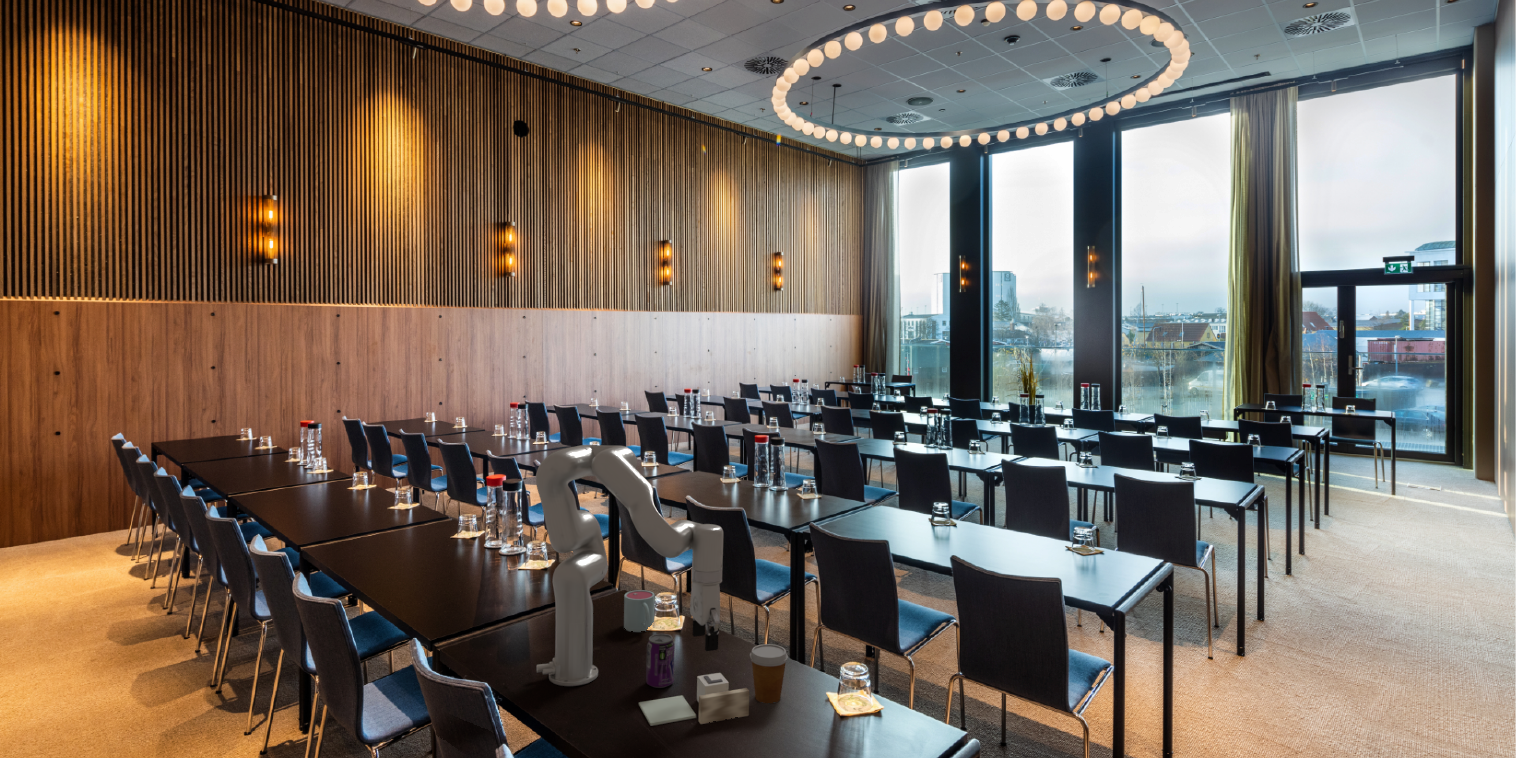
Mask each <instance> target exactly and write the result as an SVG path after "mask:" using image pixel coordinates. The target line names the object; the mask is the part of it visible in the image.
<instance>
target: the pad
mask: <svg viewBox="0 0 1516 758" xmlns="http://www.w3.org/2000/svg"><path fill="white" fill-rule="evenodd" d="M638 706H639V707H640V709H641V711H642V713H643V715H644V717H645V719H646V721H647V722H648V724H649V725H650V726H658V725H663V724H664V725H665V724H668V723H673V722H674V723H675V722H680V721H685V720H692V719H697V714H696V713H695V711H694V710H693V709H692V707H691V705H690V704H689V703H688V701H687V700H686V699H685V696H684V695H676V696H671V697H665V698H658V699H653V700H651V699H650V700H646V701H640V702H638Z"/></svg>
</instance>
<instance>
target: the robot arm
mask: <svg viewBox="0 0 1516 758" xmlns="http://www.w3.org/2000/svg"><path fill="white" fill-rule="evenodd" d="M637 466H638V459H637V456H636V454H635V453H634V451H633V450H632V449H630V448H629V447H627V446H625V445H605V444H604V445H600V444H599V445H598V444H582V445H577V446H572V447H567V448H563V449H560V450H557V451H554V452H552V453H550V454H549V455H548V456H546V457H545V458H543V460H542V461H541V463H540V464H539V466H538V468H537V471H536V474H535V484H536V489H537V492H538V495H539V499H540V502H541V503H540V504H541V507H542V513H543V518H544V521H545V527H546V530H547V535H548V539H549V543H550V545H551V548H552V549H553V550H554V551H555V552H556V553H559V554H568V553H571V552H572V554H573V555H571V556H569V557H568V558H566V559H564V560H562V561H561V562H560V563H559V564H558V565H557V567H555V569H554V572H553V573H552V574H553V575H552V587H553V593H554V600H555V645H554V646H555V653H554V654H555V655H554V657H553V658H552V661H548V663H542V664H541V663H540V664H539V663H538V664H536V667H535V669H536V673H542V676H543V675H548V679H549V682H551V683H553V684H554V685H558V686H561V687H563V686H564V687H576V686H583V685H586V684H589V683H590V682H592V681H594V680H596V679H597V677H598V676H599V668H598V667H597V666H596V665H594V664H593V654H594V653H593V651H594V649H593V644H594V643H593V640H594V638H593V637H594V636H593V635H594V633H593V632H594V614H593V613H594V605H593V600H592V596H591V593H590V592H591V591H590V590H591V588H592V587H593V586H595V585H596V584H597V583H599V582H600V581H602V580H603V579H604V578H605V577H606V575H607V573H608V567H609V564H608V563H609V562H608V555H607V552H606V548H605V543H604V538H603V533H602V529H601V525H600V523H599V521H598V520H597V518H596V517H595V515H594V514H593V513H591V512H590V511H588V510H584V509H578V507H577V502H576V498H575V495H574V493H573V491H572V489H571V488H570V487H569V483H570V482H572V481H574V480H579V479H582V478H584V477H595V478H596V479H597V480H598V481H599V482H600V483H601V484H602V485H603V486H605V488H606V489H607V490H608V491H609V492H610V493H611V494H612V495H613V496H614V497H615V498H616V499H617V500H618V501H619V502H620V503H621V504H622V505H623V506H624V508H626V509H627V511H628V513H629V515H630V520H631V521H632V523H633V525H634V527H635V529H636V531H637V533H638V534H639V535H640V536H641V538H642V539H643V540H644V541H645V542H646V543H647V544H648V545H649V546H650V547H651V548H652V549H653V550H654V551H655V552H656V553H657V554H659V555H660V556H662V557H664V558H668V559H674V558H678V557H679V556H681V555H682V554H684V553H685V552H687V551H691V550H692V558H691V559H692V561H691V562H692V566H691V582H692V583H691V592H690V603H689V614H690V616H692V636H693V637H695V638H696V637H701V636H702V637H704V636H705V637H704V640H705V641H704V650H705V651H706V652H711V651H717V650H718V649H719V635H720V625H721V621H720V620H721V619H720V618H721V591H720V590H721V589H720V586H721V585H720V584H721V583H722V582H723V556H724V530H723V528H722V527H721V526H720V525H717V524H712V523H711V524H710V523H704V524H703V523H699V522H695V521H691V520H688V519H680V520H676V521H675V522H673V523H671V524H670V523H669V522H668V521H667V519H665V518H664V517H663V516H662V514H660V513H659V511H658V510H657V507H656V506H655V503H654V486H653V485H652V483H650V482H649V481H648V480H647V479H646V478H645V477H644V476H643V475H642V473H641V472H639V470H637ZM710 626H711V627H710Z"/></svg>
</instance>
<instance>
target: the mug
mask: <svg viewBox="0 0 1516 758" xmlns="http://www.w3.org/2000/svg"><path fill="white" fill-rule="evenodd" d="M623 597H624V598H623V599H624V600H623V603H624V604H623V606H624V607H623V612H624V613H623V629H624V628H625V629H626V630H625V629H624V630H625V631H627V632H631V631H633V632H632V633H642V632H641V631H645V632H647V631H646V630H647V629H648V627H650V626H651V625H652V623H653V622H654V623H655V603H656V602H655V593H654V592H653V591H650V590H643V589H641V590H640V589H639V590H632V591H631V590H630V591H627V592H625V594H624V596H623Z"/></svg>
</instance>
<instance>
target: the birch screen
mask: <svg viewBox="0 0 1516 758" xmlns="http://www.w3.org/2000/svg"><path fill="white" fill-rule="evenodd" d="M749 709H750V690H749V689H748V687H744V688H739V689H733V690H729V691H725V692H719V693H713V694H707V695H701V696H699V702H698V722H699V724H700V725H703V724H710V723H714V722H713V721H716V722H720V721H726V720H725V719H727V720H732V719H736V718H735V717H738V718H742V717H748V716H749V715H750V711H749ZM731 718H732V719H731ZM709 722H710V723H709Z"/></svg>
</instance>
